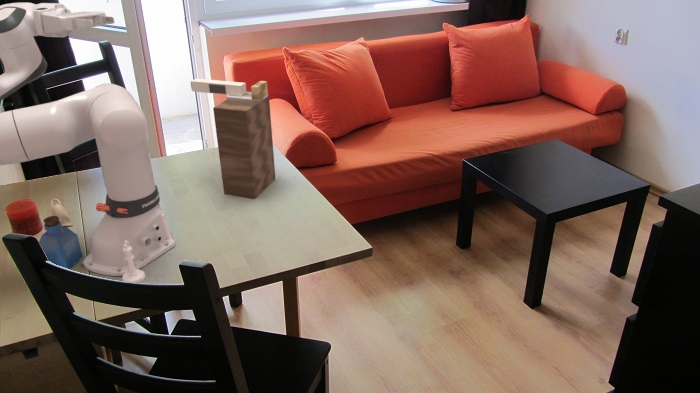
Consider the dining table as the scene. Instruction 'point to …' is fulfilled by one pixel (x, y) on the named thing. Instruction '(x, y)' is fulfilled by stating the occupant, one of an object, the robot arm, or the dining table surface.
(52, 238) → the perfume bottle
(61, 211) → the decorative ornament
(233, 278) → the dining table surface
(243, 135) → the wooden block tower
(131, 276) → the chess piece
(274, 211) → the dining table surface
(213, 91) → the bar
